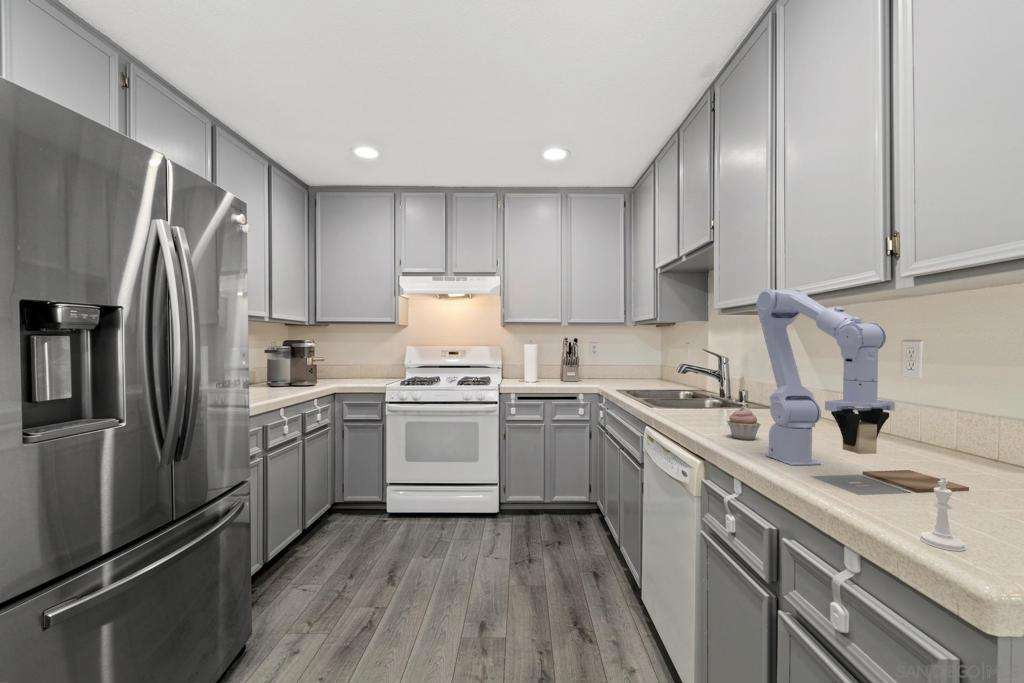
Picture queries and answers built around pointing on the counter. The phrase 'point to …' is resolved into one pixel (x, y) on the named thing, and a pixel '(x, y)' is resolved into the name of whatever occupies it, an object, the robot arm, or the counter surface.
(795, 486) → the counter surface
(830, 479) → the tile
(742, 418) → the cupcake
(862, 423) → the maple block
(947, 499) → the chess piece
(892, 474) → the board
